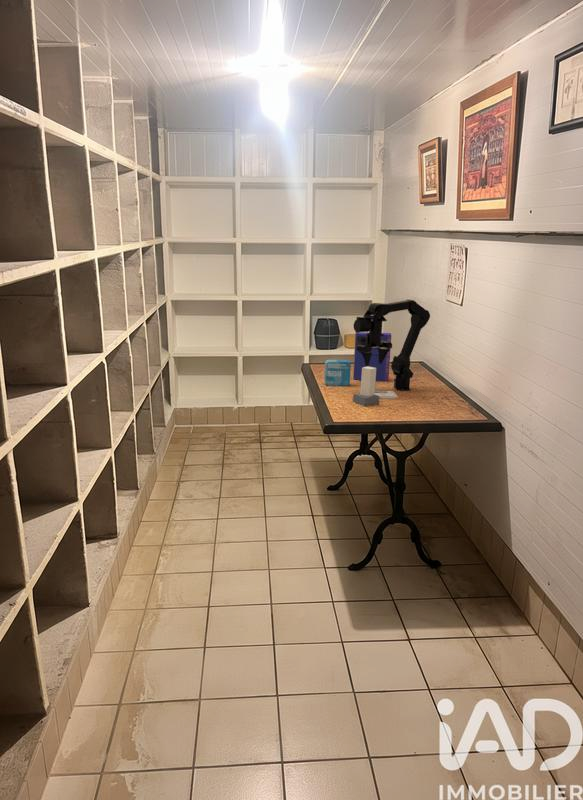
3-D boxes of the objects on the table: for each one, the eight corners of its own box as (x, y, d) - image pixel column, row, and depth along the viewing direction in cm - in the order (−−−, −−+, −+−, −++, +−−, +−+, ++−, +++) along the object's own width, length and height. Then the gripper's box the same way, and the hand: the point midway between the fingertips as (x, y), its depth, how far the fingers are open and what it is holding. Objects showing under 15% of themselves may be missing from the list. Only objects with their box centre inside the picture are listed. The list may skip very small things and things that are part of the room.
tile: (392, 393, 281) (392, 390, 281) (397, 398, 272) (397, 395, 272) (366, 393, 280) (367, 390, 279) (371, 398, 271) (371, 395, 271)
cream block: (365, 393, 266) (367, 366, 263) (374, 395, 263) (376, 368, 260) (360, 394, 262) (362, 367, 259) (368, 396, 260) (370, 369, 257)
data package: (325, 385, 293) (326, 361, 290) (324, 383, 297) (325, 359, 294) (349, 386, 294) (351, 361, 291) (348, 383, 298) (349, 359, 295)
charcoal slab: (367, 400, 269) (367, 391, 268) (378, 405, 262) (379, 396, 261) (352, 402, 265) (353, 393, 264) (364, 407, 258) (364, 398, 257)
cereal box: (387, 379, 309) (390, 332, 303) (388, 381, 305) (391, 334, 298) (353, 378, 310) (355, 331, 303) (353, 380, 305) (356, 333, 299)
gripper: (375, 327, 287) (373, 359, 291) (348, 330, 275) (346, 364, 279) (393, 330, 279) (391, 363, 283) (366, 333, 267) (365, 368, 271)
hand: (373, 364), depth 279 cm, fingers open, 9 cm apart
